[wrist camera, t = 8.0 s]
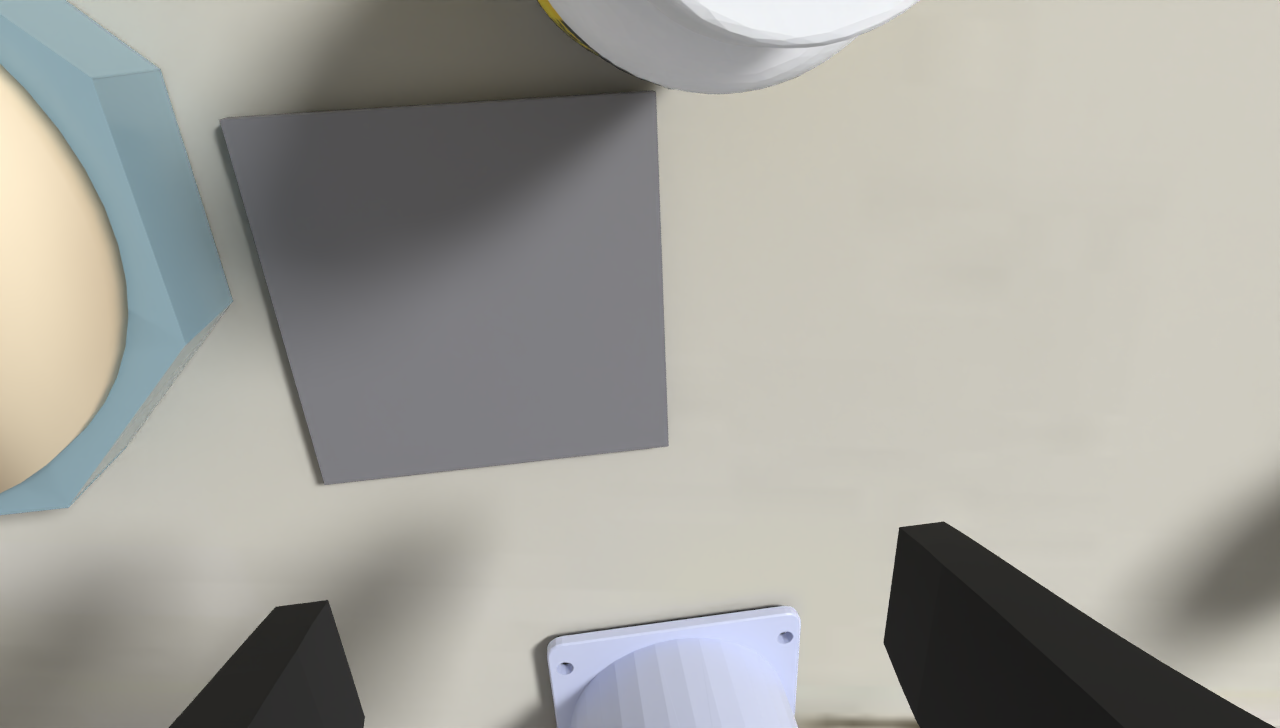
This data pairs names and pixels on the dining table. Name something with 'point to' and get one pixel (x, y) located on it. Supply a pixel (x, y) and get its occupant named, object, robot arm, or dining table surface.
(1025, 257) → the dining table surface
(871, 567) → the dining table surface
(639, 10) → the supplement bottle
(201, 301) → the bowl
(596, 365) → the mat
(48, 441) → the lid
